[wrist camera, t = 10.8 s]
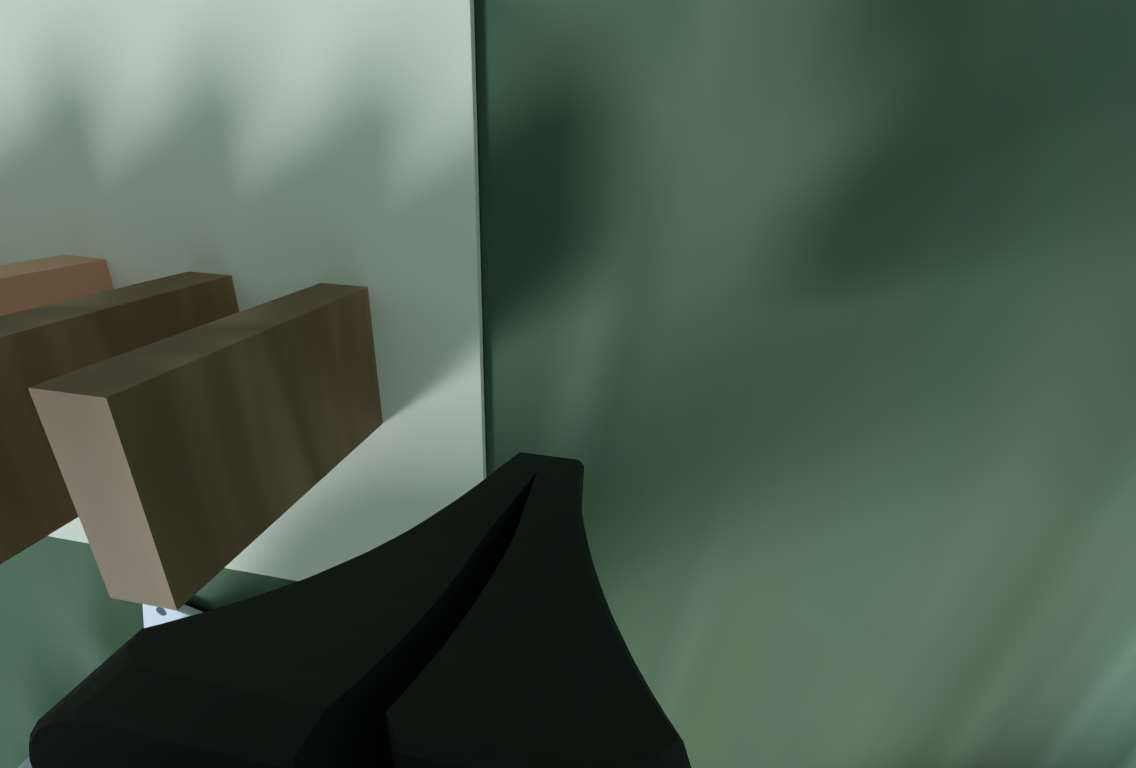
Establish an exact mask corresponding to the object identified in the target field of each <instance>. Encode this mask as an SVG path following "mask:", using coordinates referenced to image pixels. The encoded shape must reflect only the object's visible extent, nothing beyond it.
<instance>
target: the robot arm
mask: <svg viewBox="0 0 1136 768" xmlns="http://www.w3.org/2000/svg"><path fill="white" fill-rule="evenodd" d="M583 474H584V465H583V464H582V463H581V462H580V461H579V460H575V459H567V458H559V457H552V456H544V455H536V454H529V453H521V452H520V453H519V454H517V455H516V456H515V457H513V458H512V459H510V460H509V461H508V462H506V463H505V464H504V465H503V466H501V467H500V468H499V469H497V470H496V471H495V472H493V473H492V474H491V475H489V476H488V477H487V478H486V479H484V480H483V481H482V482H480V483H479V484H478V485H476V486H475V487H473V488H472V489H471V490H469V491H468V492H467V493H465V494H464V495H462V496H461V497H460V498H458V499H457V500H455V501H454V502H452V503H451V504H449V505H448V506H446V507H445V508H443V509H442V510H440V511H438V512H437V513H435V514H434V515H432V516H431V517H429V518H428V519H426V520H425V521H423V522H421V523H420V524H418V525H416V526H415V527H413V528H411V529H410V530H408V531H406V532H404V533H402V534H401V535H399V536H397V537H395V538H393V539H391V540H389V541H387V542H386V543H384V544H382V545H380V546H378V547H376V548H374V549H372V550H370V551H368V552H366V553H364V554H362V555H359V556H357V557H355V558H352V559H350V560H348V561H346V562H343V563H341V564H339V565H336V566H334V567H332V568H329V569H327V570H325V571H323V572H320V573H318V574H316V575H313V576H311V577H308V578H306V579H303V580H300V581H298V582H295V583H292V584H290V585H287V586H284V587H282V588H279V589H276V590H273V591H270V592H267V593H264V594H261V595H258V596H255V597H252V598H249V599H247V600H243V601H240V602H237V603H234V604H231V605H227V606H224V607H220V608H217V609H213V610H210V611H206V612H202V611H200V610H197V609H195V608H192V607H190V606H187V605H185V604H184V605H183V606H182V607H181V608H180V609H178V610H177V611H176V610H171V609H166V608H161V607H156V606H151V605H146V604H143V618H144V628H143V629H141V630H140V631H139V632H138V633H137V634H135V635H134V636H133V637H132V638H131V639H130V640H129V641H127V642H126V643H125V644H124V645H123V646H122V647H121V648H119V649H118V650H117V651H116V652H115V653H114V654H113V655H112V656H110V657H109V658H108V659H107V660H106V661H105V662H104V663H103V664H101V665H100V666H99V667H98V668H97V669H96V670H95V671H93V672H92V673H91V674H90V675H89V676H88V677H87V678H86V679H84V680H83V681H82V682H81V683H80V684H79V685H78V686H77V687H75V688H74V689H73V690H72V691H71V692H70V693H69V694H67V695H66V696H65V697H64V698H63V699H62V700H61V701H60V702H58V703H57V704H56V705H55V706H54V707H53V708H52V709H50V710H49V711H48V712H47V713H46V714H45V715H44V716H43V717H41V718H40V719H39V720H38V722H37V723H36V725H35V727H34V729H33V731H32V732H31V734H30V741H29V757H28V758H27V759H26V760H25V761H24V762H23V763H22V764H21V765H20V766H18V767H17V768H691V766H690V762H689V759H688V756H687V752H686V749H685V746H684V742H683V740H682V739H681V737H680V736H679V734H678V733H677V731H676V730H675V728H674V727H673V725H672V724H671V722H670V721H669V719H668V718H667V716H666V715H665V713H664V711H663V710H662V708H661V706H660V705H659V703H658V702H657V700H656V698H655V697H654V695H653V693H652V692H651V690H650V688H649V687H648V685H647V683H646V681H645V680H644V678H643V676H642V674H641V672H640V671H639V669H638V667H637V665H636V664H635V662H634V660H633V658H632V656H631V654H630V652H629V650H628V648H627V646H626V643H625V641H624V639H623V637H622V635H621V633H620V631H619V629H618V627H617V625H616V623H615V621H614V619H613V616H612V614H611V612H610V609H609V607H608V604H607V602H606V599H605V597H604V594H603V591H602V588H601V586H600V583H599V580H598V577H597V574H596V571H595V568H594V565H593V561H592V558H591V554H590V550H589V546H588V542H587V538H586V533H585V529H584V523H583V516H582V510H581V508H582V491H583Z"/></svg>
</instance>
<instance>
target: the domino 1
mask: <svg viewBox="0 0 1136 768" xmlns="http://www.w3.org/2000/svg"><path fill="white" fill-rule="evenodd" d="M112 289H114V287H113V284H112V280H111V277H110V273H109V269H108V266H107V262H106V259H99V258H91V257H82V256H74V255H60V256H53V257H47V258H41V259H35V260H29V261H23V262H16V263H10V264H4V265H0V316H3V315H7V314H11V313H16V312H20V311H24V310H28V309H32V308H37V307H41V306H45V305H49V304H53V303H58V302H62V301H66V300H70V299H74V298H79V297H83V296H87V295H91V294H96V293H100V292H104V291H108V290H112Z"/></svg>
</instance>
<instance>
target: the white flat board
mask: <svg viewBox="0 0 1136 768" xmlns="http://www.w3.org/2000/svg"><path fill="white" fill-rule="evenodd" d="M60 255H74V256H82V257H91V258H99V259H106V262H107V266H108V269H109V273H110V277H111V280H112V284H113V287H114V289H117V288H121V287H125V286H129V285H133V284H138V283H142V282H146V281H150V280H155V279H159V278H163V277H167V276H171V275H176V274H180V273H184V272H188V271H190V272H201V273H213V274H225V275H232V280H233V284H234V289H235V294H236V299H237V303H238V308H239V312H241V311H244V310H246V309H249V308H252V307H255V306H257V305H260V304H263V303H266V302H269V301H271V300H274V299H277V298H280V297H283V296H285V295H288V294H291V293H294V292H297V291H299V290H302V289H305V288H308V287H311V286H313V285H316V284H319V283H329V284H341V285H352V286H364V287H368V294H369V303H370V312H371V321H372V330H373V339H374V348H375V357H376V366H377V375H378V384H379V393H380V402H381V411H382V420H383V424H382V425H381V426H380V427H378V428H377V429H376V430H375V431H374V432H373V433H372V434H371V435H370V436H369V437H367V438H366V439H365V440H364V441H363V442H362V443H361V444H360V445H359V446H358V447H356V448H355V449H354V450H353V451H352V452H351V453H350V454H349V455H348V456H347V457H346V458H344V459H343V460H342V461H341V462H340V463H339V464H338V465H337V466H336V467H335V468H333V469H332V470H331V471H330V472H329V473H328V474H327V475H326V476H325V477H324V478H322V479H321V480H320V481H319V482H318V483H317V484H316V485H315V486H314V487H313V488H311V489H310V490H309V491H308V492H307V493H306V494H305V495H304V496H303V497H302V498H300V499H299V500H298V501H297V502H296V503H295V504H294V505H293V506H292V507H291V508H289V509H288V510H287V511H286V512H285V513H284V514H283V515H282V516H281V517H280V518H278V519H277V520H276V521H275V522H274V523H273V524H272V525H271V526H270V527H269V528H267V529H266V530H265V531H264V532H263V533H262V534H261V535H260V536H259V537H258V538H256V539H255V540H254V541H253V542H252V543H251V544H250V545H249V546H248V547H247V548H245V549H244V550H243V551H242V552H241V553H240V554H239V555H238V556H237V557H236V558H234V559H233V560H232V561H231V562H230V563H229V564H228V565H227V566H226V567H225V568H228V569H233V570H239V571H244V572H250V573H255V574H261V575H266V576H272V577H277V578H283V579H288V580H294V581H300V580H303V579H306V578H308V577H311V576H313V575H316V574H318V573H320V572H323V571H325V570H327V569H329V568H332V567H334V566H336V565H339V564H341V563H343V562H346V561H348V560H350V559H352V558H355V557H357V556H359V555H362V554H364V553H366V552H368V551H370V550H372V549H374V548H376V547H378V546H380V545H382V544H384V543H386V542H387V541H389V540H391V539H393V538H395V537H397V536H399V535H401V534H402V533H404V532H406V531H408V530H410V529H411V528H413V527H415V526H416V525H418V524H420V523H421V522H423V521H425V520H426V519H428V518H429V517H431V516H432V515H434V514H435V513H437V512H438V511H440V510H442V509H443V508H445V507H446V506H448V505H449V504H451V503H452V502H454V501H455V500H457V499H458V498H460V497H461V496H462V495H464V494H465V493H467V492H468V491H469V490H471V489H472V488H473V487H475V486H476V485H478V484H479V483H480V482H482V481H483V480H484V479H486V446H485V408H484V369H483V331H482V293H481V255H480V217H479V178H478V140H477V102H476V64H475V26H474V0H0V265H4V264H10V263H16V262H23V261H29V260H35V259H41V258H47V257H53V256H60ZM48 536H51V537H57V538H62V539H68V540H73V541H79V542H84V543H89V542H88V539H87V537H86V534H85V532H84V529H83V526H82V524H81V521H80V519H79V517H78V518H76V519H74V520H73V521H71V522H69V523H68V524H66V525H64V526H63V527H61V528H59V529H58V530H56V531H54V532H53V533H51V534H49V535H48Z"/></svg>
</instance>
